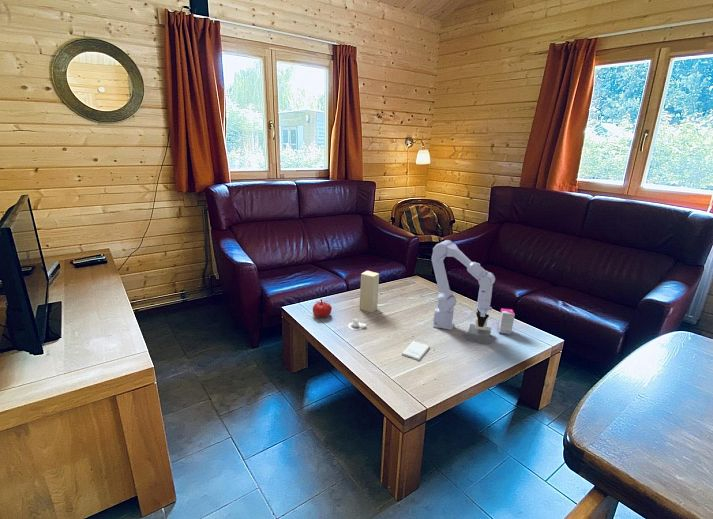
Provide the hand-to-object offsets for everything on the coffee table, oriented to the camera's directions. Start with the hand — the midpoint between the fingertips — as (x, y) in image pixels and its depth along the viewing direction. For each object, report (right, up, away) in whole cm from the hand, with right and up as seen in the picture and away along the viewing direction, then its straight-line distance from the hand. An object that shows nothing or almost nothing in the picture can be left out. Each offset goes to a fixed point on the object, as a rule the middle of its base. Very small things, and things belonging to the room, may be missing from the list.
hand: (480, 324), depth 183 cm
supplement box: (+14, -5, +8) cm, 17 cm away
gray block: (0, -7, +2) cm, 7 cm away
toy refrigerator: (-53, +4, +29) cm, 60 cm away
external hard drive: (-33, -11, -11) cm, 37 cm away
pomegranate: (-78, +1, +20) cm, 81 cm away
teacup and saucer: (-59, -4, +7) cm, 60 cm away
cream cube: (0, -1, +1) cm, 2 cm away
